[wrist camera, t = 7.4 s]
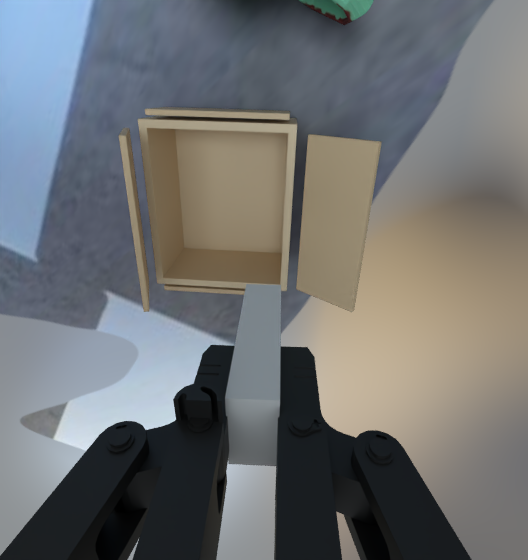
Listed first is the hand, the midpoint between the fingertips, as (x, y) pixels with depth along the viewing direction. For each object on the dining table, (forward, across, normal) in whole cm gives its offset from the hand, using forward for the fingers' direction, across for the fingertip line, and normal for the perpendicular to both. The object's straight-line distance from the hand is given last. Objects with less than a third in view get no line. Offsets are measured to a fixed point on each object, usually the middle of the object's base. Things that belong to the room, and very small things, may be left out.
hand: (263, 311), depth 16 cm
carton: (+24, -4, -1) cm, 24 cm away
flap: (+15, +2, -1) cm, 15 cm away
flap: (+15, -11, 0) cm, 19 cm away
